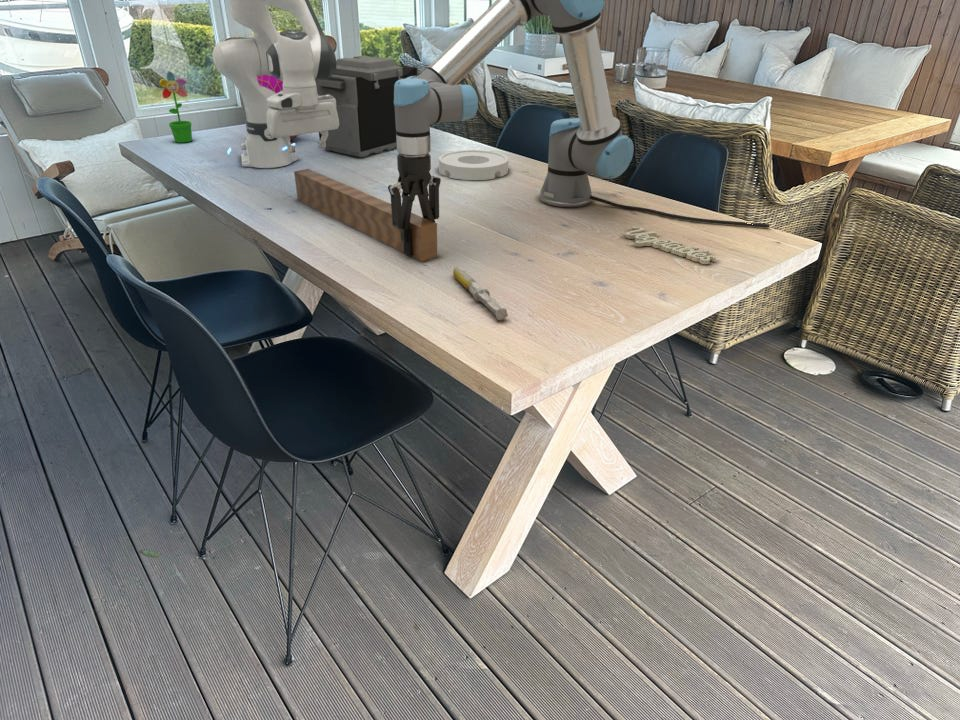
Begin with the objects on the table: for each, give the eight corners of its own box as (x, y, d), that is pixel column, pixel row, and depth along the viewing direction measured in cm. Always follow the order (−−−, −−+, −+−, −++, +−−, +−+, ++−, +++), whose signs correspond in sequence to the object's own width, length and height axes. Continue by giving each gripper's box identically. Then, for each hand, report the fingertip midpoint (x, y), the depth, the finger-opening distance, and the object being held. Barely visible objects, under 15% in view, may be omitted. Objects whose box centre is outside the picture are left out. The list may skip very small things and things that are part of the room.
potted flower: (172, 144, 257) (157, 72, 244) (170, 139, 263) (155, 69, 250) (199, 141, 260) (185, 71, 248) (196, 137, 266) (182, 68, 254)
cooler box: (383, 133, 276) (378, 52, 261) (425, 141, 265) (422, 56, 250) (314, 150, 251) (304, 61, 235) (358, 160, 240) (350, 67, 224)
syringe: (449, 274, 155) (449, 263, 153) (465, 272, 156) (464, 260, 154) (490, 323, 135) (491, 310, 133) (508, 319, 136) (508, 307, 134)
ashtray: (441, 160, 240) (441, 149, 238) (507, 162, 240) (508, 150, 237) (436, 179, 220) (435, 167, 218) (508, 180, 220) (508, 168, 218)
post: (437, 257, 164) (436, 223, 159) (422, 262, 161) (421, 227, 157) (311, 197, 203) (308, 168, 199) (297, 200, 201) (294, 171, 196)
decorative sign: (611, 234, 176) (635, 225, 181) (610, 237, 176) (634, 229, 182) (700, 264, 159) (723, 254, 164) (699, 268, 159) (723, 257, 165)
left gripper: (329, 92, 192) (334, 142, 199) (260, 99, 180) (268, 153, 187) (340, 94, 188) (345, 146, 195) (271, 103, 176) (279, 157, 183)
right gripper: (434, 144, 161) (436, 239, 173) (371, 156, 151) (377, 255, 163) (454, 150, 156) (455, 247, 168) (390, 163, 146) (396, 265, 158)
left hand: (307, 150), depth 191 cm, fingers open, 8 cm apart
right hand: (417, 251), depth 165 cm, fingers closed on post, 5 cm apart
